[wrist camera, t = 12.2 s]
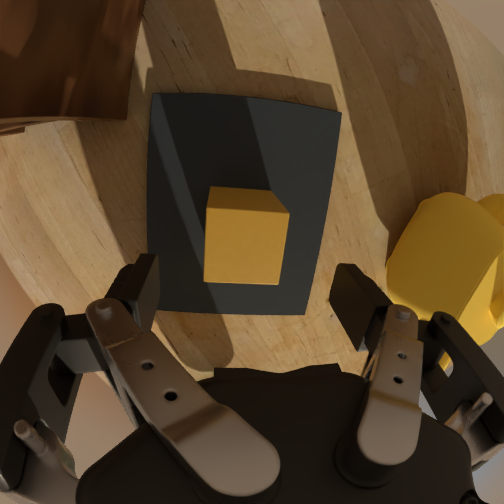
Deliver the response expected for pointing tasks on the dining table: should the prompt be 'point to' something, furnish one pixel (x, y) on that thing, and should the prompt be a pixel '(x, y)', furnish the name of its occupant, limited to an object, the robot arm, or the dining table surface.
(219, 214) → the yellow block
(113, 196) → the dining table surface
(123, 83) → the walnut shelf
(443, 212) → the teapot
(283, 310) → the slate mat
